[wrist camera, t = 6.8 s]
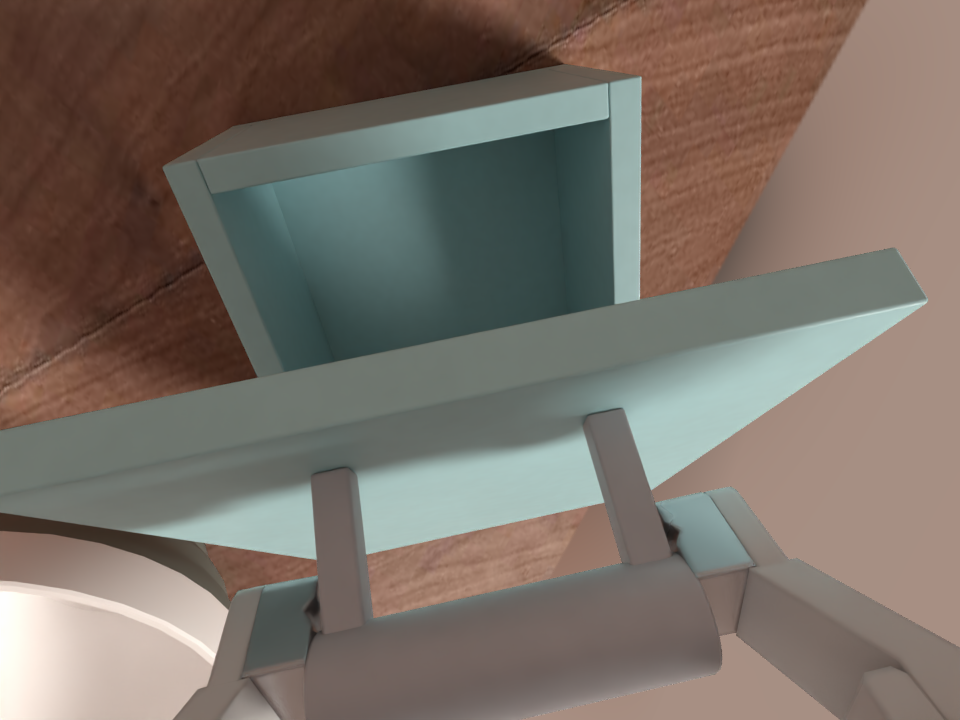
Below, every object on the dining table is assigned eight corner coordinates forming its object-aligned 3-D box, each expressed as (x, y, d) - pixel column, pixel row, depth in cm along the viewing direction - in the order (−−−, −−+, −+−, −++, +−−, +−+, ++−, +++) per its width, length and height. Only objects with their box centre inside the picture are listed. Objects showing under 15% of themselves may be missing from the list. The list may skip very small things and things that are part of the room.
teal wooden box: (232, 125, 22) (160, 166, 15) (566, 63, 22) (642, 75, 16) (344, 427, 30) (330, 540, 23) (585, 377, 31) (639, 473, 24)
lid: (-38, 436, 8) (-131, 924, 6) (897, 244, 8) (1135, 626, 6) (328, 538, 23) (340, 676, 21) (640, 470, 24) (682, 598, 22)
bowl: (218, 667, 40) (174, 828, 32) (-109, 609, 33) (-275, 798, 24) (330, 492, 33) (310, 643, 25) (-60, 366, 25) (-272, 521, 17)
